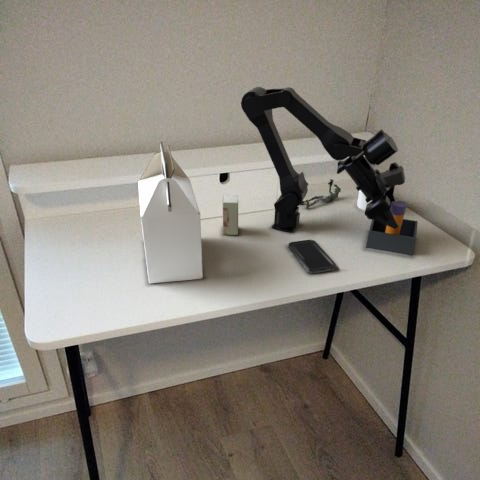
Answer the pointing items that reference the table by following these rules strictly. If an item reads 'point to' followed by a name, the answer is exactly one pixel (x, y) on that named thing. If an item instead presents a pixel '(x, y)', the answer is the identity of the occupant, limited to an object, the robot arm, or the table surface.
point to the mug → (362, 201)
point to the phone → (311, 256)
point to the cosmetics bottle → (230, 214)
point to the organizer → (393, 237)
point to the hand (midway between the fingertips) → (397, 220)
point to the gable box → (169, 221)
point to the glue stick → (397, 216)
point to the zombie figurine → (324, 198)
